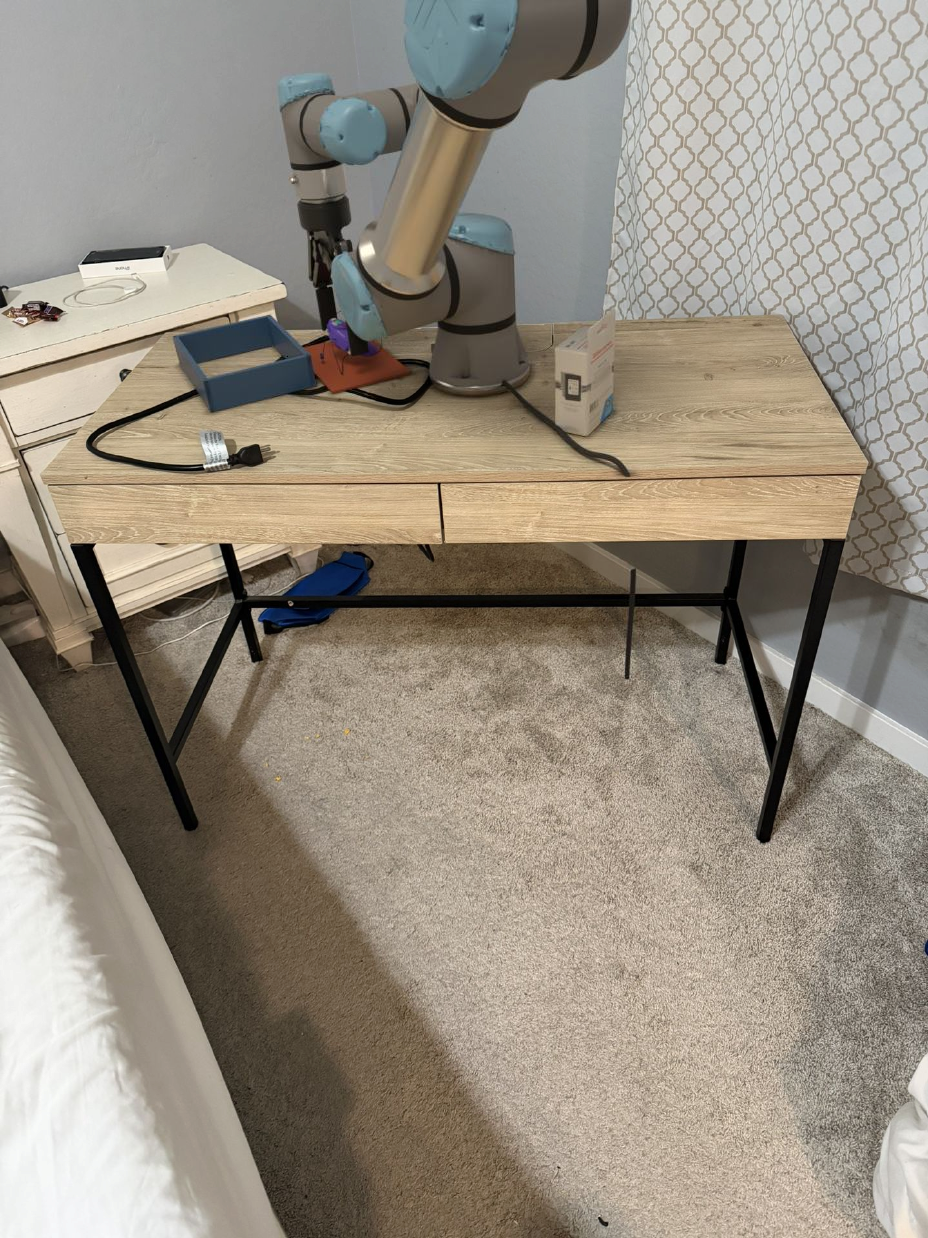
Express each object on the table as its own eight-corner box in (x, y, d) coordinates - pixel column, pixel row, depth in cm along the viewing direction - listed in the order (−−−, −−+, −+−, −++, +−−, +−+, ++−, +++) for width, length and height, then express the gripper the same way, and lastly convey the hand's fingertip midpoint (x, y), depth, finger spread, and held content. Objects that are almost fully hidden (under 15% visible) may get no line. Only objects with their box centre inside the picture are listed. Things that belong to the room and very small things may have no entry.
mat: (411, 373, 143) (410, 371, 143) (332, 393, 139) (332, 391, 139) (365, 335, 158) (364, 332, 157) (292, 352, 154) (292, 349, 153)
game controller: (398, 332, 146) (349, 339, 139) (385, 377, 151) (338, 386, 145) (359, 301, 150) (310, 307, 143) (348, 346, 155) (301, 353, 148)
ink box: (581, 405, 130) (583, 301, 121) (613, 411, 128) (617, 306, 119) (553, 430, 125) (553, 323, 116) (586, 437, 122) (588, 329, 113)
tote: (316, 386, 142) (310, 355, 139) (210, 412, 137) (202, 380, 134) (276, 343, 158) (270, 314, 154) (180, 365, 152) (172, 335, 149)
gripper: (272, 187, 141) (298, 323, 154) (325, 218, 122) (349, 370, 135) (319, 178, 143) (340, 314, 156) (377, 208, 125) (396, 359, 138)
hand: (344, 340), depth 146 cm, fingers open, 13 cm apart
